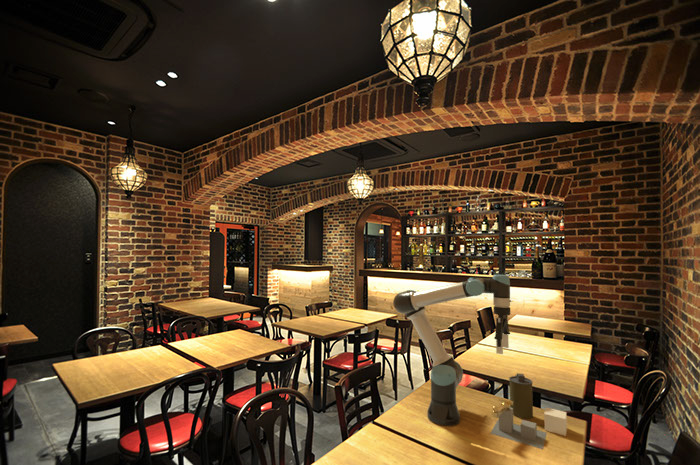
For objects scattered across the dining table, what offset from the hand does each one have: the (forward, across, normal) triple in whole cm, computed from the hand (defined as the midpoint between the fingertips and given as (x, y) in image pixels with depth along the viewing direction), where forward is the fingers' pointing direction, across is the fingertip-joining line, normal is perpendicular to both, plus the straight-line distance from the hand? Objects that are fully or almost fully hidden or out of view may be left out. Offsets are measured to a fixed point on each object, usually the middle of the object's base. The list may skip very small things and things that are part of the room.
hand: (502, 350), depth 161 cm
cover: (+33, +3, -21) cm, 39 cm away
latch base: (+33, -11, -8) cm, 35 cm away
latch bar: (+22, -17, -2) cm, 28 cm away
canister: (+33, +10, -6) cm, 35 cm away
